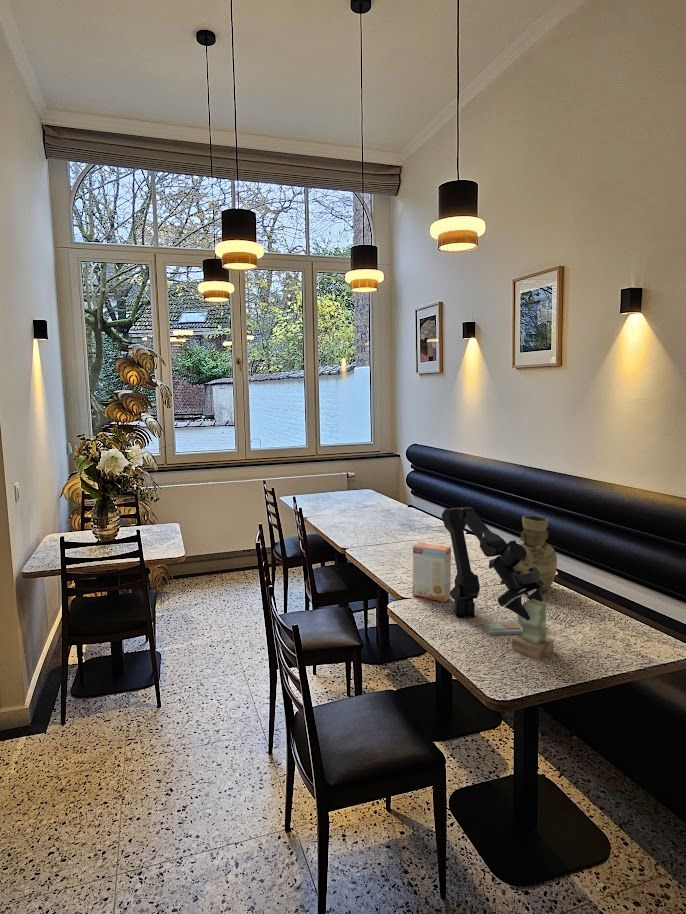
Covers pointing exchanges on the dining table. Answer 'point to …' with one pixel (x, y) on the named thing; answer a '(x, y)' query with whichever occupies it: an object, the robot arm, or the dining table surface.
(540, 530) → the ceramic vessel
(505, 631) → the board
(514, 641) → the walnut base block
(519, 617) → the charcoal cube
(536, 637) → the sage pillar
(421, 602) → the dining table surface
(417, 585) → the cracker box
